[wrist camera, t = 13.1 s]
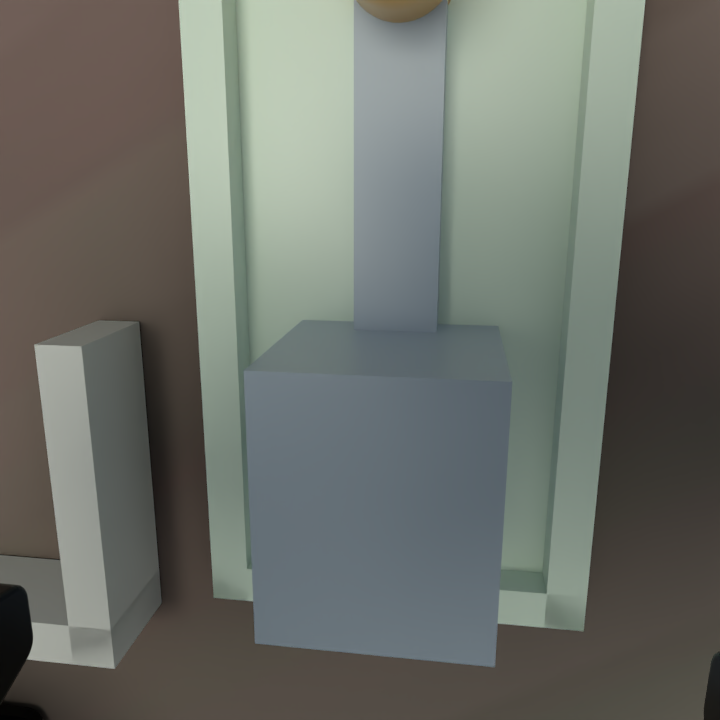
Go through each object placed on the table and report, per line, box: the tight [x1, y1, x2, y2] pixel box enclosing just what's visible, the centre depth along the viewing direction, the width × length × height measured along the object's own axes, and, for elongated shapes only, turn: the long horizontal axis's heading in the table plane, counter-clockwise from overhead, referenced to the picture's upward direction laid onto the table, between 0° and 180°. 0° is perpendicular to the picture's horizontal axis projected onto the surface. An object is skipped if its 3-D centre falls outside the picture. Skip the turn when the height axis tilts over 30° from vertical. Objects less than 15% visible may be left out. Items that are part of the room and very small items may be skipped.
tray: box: [179, 0, 645, 631], centre depth 16 cm, size 21×10×2 cm, turn 0°
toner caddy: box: [244, 0, 512, 667], centre depth 15 cm, size 15×5×5 cm, turn 0°
